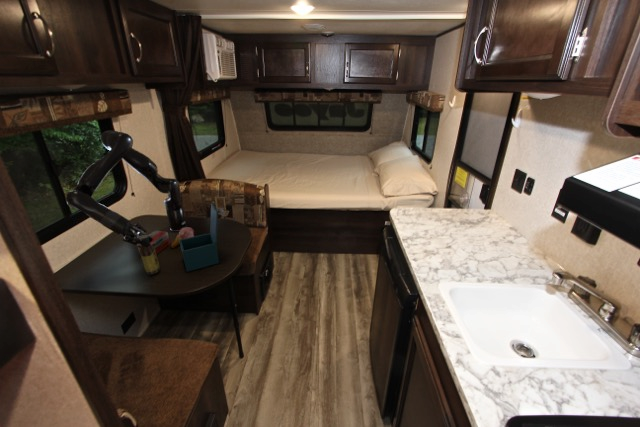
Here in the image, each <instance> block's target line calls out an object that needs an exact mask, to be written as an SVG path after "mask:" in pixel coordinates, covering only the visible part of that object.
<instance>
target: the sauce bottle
mask: <svg viewBox="0 0 640 427" xmlns="http://www.w3.org/2000/svg"><path fill="white" fill-rule="evenodd" d="M148 235H149V234H147V235H142V234H141V236H139V237H140V238H141V239H142V240H145V241H146V242H148V243H150V241H149V236H148ZM140 253H141V255H140V257H141V260H142V263H143V267H144V271H145V273H146V274H147V275H148V276H149V275H156V274H157V273H159V272H160V270H161V268H160V266H161V265H160V262H159V259H158V254H156V251H155V248H154V246H153V245H151V244H150V245H149V246H148V247H145V246H143V245H141V248H140ZM140 253H139V254H140Z"/></svg>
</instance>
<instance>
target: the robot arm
mask: <svg viewBox="0 0 640 427" xmlns="http://www.w3.org/2000/svg"><path fill="white" fill-rule="evenodd" d="M100 141H101V143H102V145H103V147H105V149H107V150H109V151H108V152H107V153H106V154H105V155H104V156H102V157H101V158H99V159H98V160H96V161H95V162H93V163H92V164H91V165H89V166H88V167H87V168H86V170H84V172H83V173H82V175H80V177H79V179H78V182H77V184H76V186H75V187H74V189H73V190H70V191H68V192H67V194H66V195H65V202H66V204H67V205H68V206H69V207H70V208H72V209H75V210H76V209H77V210H79V211H81V212H83V213H84V214H86V215H87V217H89V218H90V219H92V220H94V221H96V222H97V223H98V224H100V225H102V226H103V227H105V228H106V229H108V230H109V231H111V232H114V233H115V234H117V235H122V236H123V238H122V241H123V242H126V243H128V244H130V245H131V244H132V245H134V246H137V244H141V245H143V246H145V247H148V246H149V245H150V243H148V242H146V241H145V240H142V239H141V238H140V236H141V235H148V233H147V232H148V231H147V230H146V229H145V227H143V226H142V225H141V224H140V223H139V222H136V223H135V224H132V223H131V220H129V219H128V218H126V217H124V216H123V215H121V214H120V213H118V212H116V211H114V210H112V209H110V208H109V207H107V206H105V205H104V204H101V202H99V201H97V200H96V199H95V198H93V195H94V193H95V191H96V190H97V189H98V188H99V187H100V186H101V184H102V182H103V180H104V179H105V177H106V176H107V175H108V174H109V172H111V170H112V169H113V168H114V167H115V166H116V165H118V163H119V162H120V161H122V160H123V161H124V162H126V164H127V165H129V166H130V167H131V168H132V169H133V170H134V171H136V172H137V173H138V174H140V176H142V177H143V178H145V179H146V180H147V181H148V182H150V183H151V185H152V186H154V188H155V189H156V190H157V191H158V192H159V193H162V194H168V195H169V196H168V197H167V198H165V199H164V200H163V205H164V207H165V208H164V209H165V213H166V216H167V217H166V218H167V221H168V226H169V230H170V231H171V232H175V233H176V232H179V231H180V230H181V229H182V228H186V227H187V224H186V219H185V214H184V210H183V205H182V204H183V203H182V193H181V185H180V182H179V181H178V179H177V178H171V177H163V176H162V175H160V174H159V173H158V172H159V168H158V166H157V164H156V163H155V162H154V160H152V159H151V158H150V157H149V156H147V155H145V153H142V152H140V151H138V150H136V149H135V148H133V146H134V139H133V138H132V136H131V135H130V134H129V133H126V132H122V131H118V130H112V129H109V130H105V131H103V132H102V133H101V136H100ZM152 240H153V238H152V237H150V236H149V241H150V242H152Z"/></svg>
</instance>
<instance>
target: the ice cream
mask: <svg viewBox="0 0 640 427" xmlns="http://www.w3.org/2000/svg"><path fill="white" fill-rule="evenodd" d="M190 237H195V230H194V229H193V228H192V227H189V226H186V228H182V229H181V230H180V231H178V234H177V235H176V237H175V239H174V241H173V242H171V243H170V248H172V249H174V248H176V247H178V246H179V245H180V242H179V240H181V239H186V238H190Z"/></svg>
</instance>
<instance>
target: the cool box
mask: <svg viewBox="0 0 640 427" xmlns="http://www.w3.org/2000/svg"><path fill="white" fill-rule="evenodd" d="M179 242H180V244H179V245H180V250H181V254H182V259H183V263H184V266H185V267H184V268H185V270H186V272H187V273H188V272H192V271H195V270H200V269H202V268H206V267H210V266H213V265H217V264H220V259H219V253H218V247H217V243H215V241H214V239H213V237H212V235H211V233H210V232H208V233H204V234H199V235H194V237H190V238H186V239H181V240H179Z"/></svg>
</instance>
